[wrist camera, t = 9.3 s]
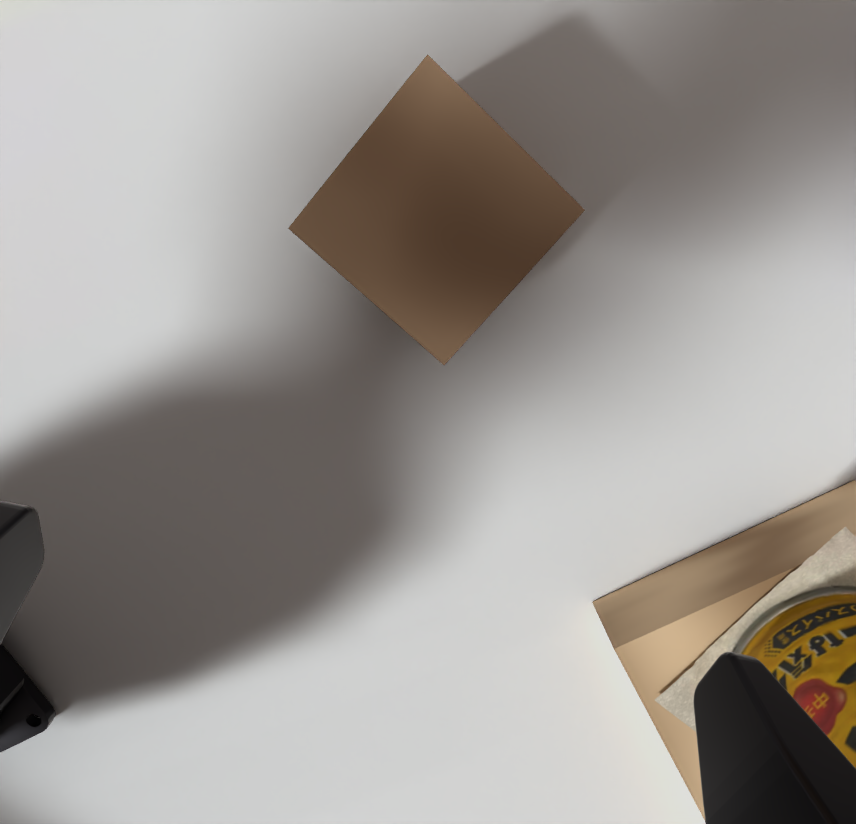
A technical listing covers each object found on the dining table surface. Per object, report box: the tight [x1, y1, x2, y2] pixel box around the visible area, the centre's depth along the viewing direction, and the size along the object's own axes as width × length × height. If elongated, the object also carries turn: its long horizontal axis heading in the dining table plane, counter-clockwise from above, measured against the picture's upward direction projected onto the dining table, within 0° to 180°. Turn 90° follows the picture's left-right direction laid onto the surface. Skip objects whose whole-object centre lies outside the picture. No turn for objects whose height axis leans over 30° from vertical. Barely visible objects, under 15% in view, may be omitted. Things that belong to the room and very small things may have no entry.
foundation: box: [592, 480, 856, 820], centre depth 20 cm, size 9×14×6 cm, turn 28°
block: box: [288, 55, 585, 365], centre depth 16 cm, size 4×4×4 cm
